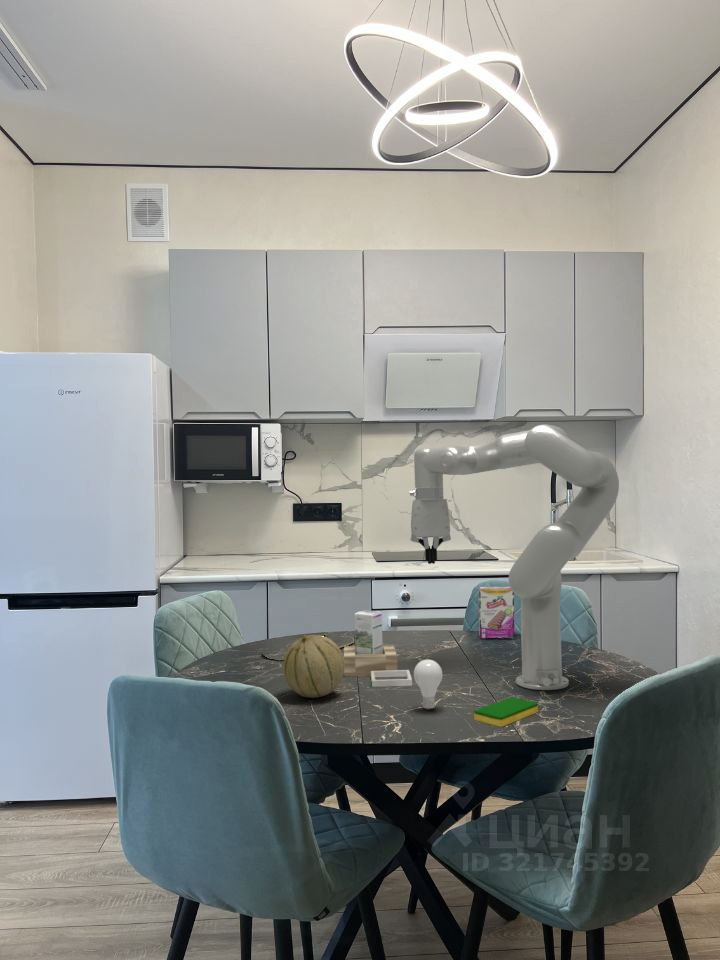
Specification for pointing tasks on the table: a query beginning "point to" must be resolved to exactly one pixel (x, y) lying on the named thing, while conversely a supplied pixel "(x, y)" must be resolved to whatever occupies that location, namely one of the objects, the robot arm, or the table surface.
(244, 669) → the table surface
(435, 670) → the lightbulb
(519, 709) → the dish sponge
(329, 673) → the cantaloupe
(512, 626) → the candy bar box
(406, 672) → the stand frame
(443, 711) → the table surface
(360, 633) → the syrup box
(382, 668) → the block
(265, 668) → the table surface
